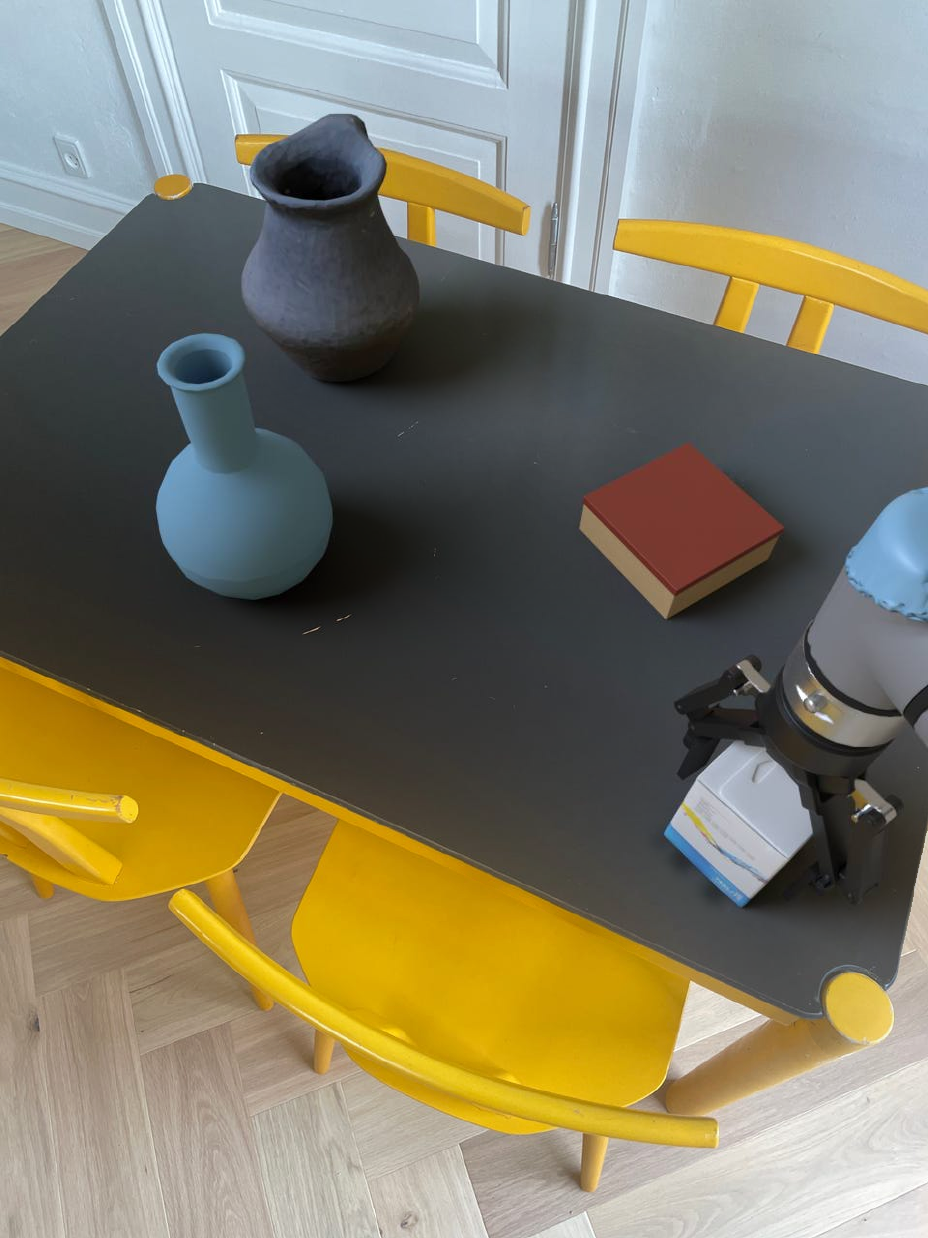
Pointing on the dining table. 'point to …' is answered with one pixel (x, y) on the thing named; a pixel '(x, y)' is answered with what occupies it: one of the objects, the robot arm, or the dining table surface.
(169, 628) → the dining table surface
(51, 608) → the dining table surface
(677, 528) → the book
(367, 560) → the dining table surface
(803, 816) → the ink box
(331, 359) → the pitcher
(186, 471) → the vase
